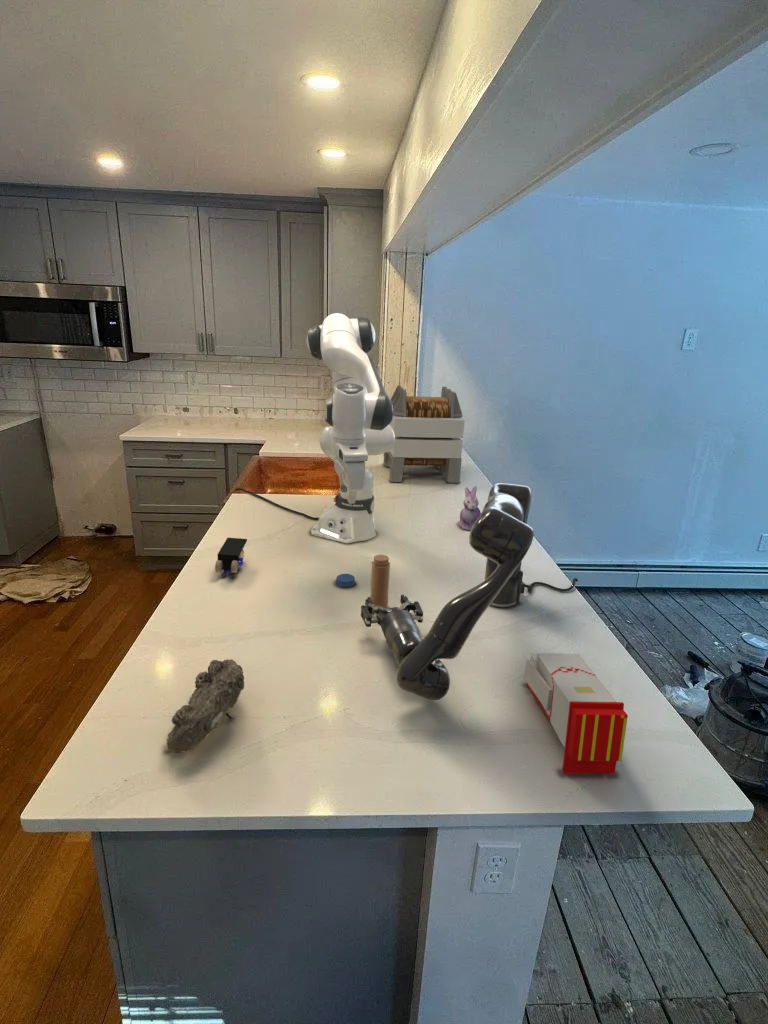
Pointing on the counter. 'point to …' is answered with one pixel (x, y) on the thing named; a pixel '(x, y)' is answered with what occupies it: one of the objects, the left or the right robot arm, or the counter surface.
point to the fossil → (206, 705)
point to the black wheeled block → (230, 556)
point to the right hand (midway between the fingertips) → (385, 599)
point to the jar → (380, 580)
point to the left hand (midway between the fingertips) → (347, 497)
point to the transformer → (426, 434)
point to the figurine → (469, 509)
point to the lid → (345, 580)
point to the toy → (578, 711)
